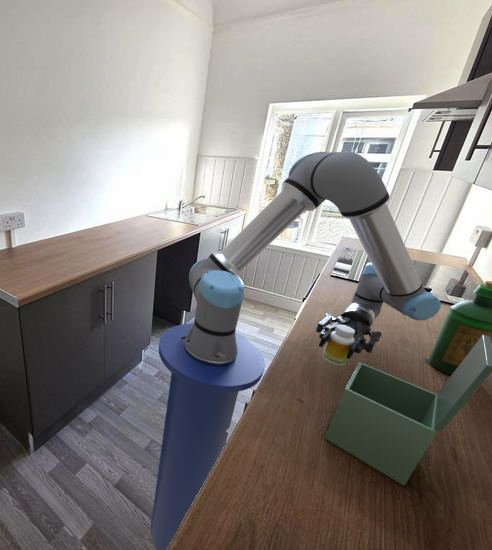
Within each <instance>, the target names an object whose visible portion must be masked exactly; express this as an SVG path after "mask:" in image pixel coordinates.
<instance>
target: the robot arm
mask: <svg viewBox="0 0 492 550" xmlns="http://www.w3.org/2000/svg"><path fill="white" fill-rule="evenodd" d="M287 176H288V177H286V178H285V180H284V181H283V182H282V183H281V184H280V186H281V187H280V188H281V189H280V192H279V193H278V194H277V195H276V196H275V197H274V198H273V199H272V200H271V201H270V202H269V203H268V204H267V205H266V206H265V207H264V208H263V209H262V210H261V211H259V213H258V214H257V215H256V216H255V217H254V218H253V219H251V221H250V222H249V223H248V224H247V225H246V226H244V228H243V229H242V230H241V231H240V232H239V233H238V234H236V236H235V237H234V238H233V239H231V240H230V241H229V243H228V244H227V245H226V246H224V247H223V248H222V250H221V251H213V252H212V253H211V254H209V255H208V256H207V257H206V258H203V259H200V260H198V261H196V262H195V263H194V264H193V265H192V266H191V268H190V270H189V274H188V282H189V287H190V289H191V291H192V293H193V296H194V299H195V301H196V307H195V314H194V320H193V323H194V324H193V326H192V327H191V329H190V331H189V333H188V334H187V336H185V337H181V339H185V343H184V348H185V350H186V352H187V353H188V354H189V355H190V356H191V357H192V358H193V359H195V360H197V361H199V362H201V363H203V364H207V365H211V366H226V365H229V364H232V363H233V362H234V361H235V360H236V358H237V353H238V348H237V342H236V335H235V333H236V330H237V325H238V321H239V318H240V314H241V313H240V312H241V308H242V305H243V300H244V297H245V284H244V281H243V280H242V279H241V273H242V270H244V269H245V268H246V267H247V266H248V265H249V264H250V263H251V262H252V261H253V260H254V259H255V258H256V257H257V256H259V255H260V254H261V253H262V252H263V251H264V250H265V249H266V248H267V247H268V246H269V245H270V244H271V243H272V242H274V240H276V239H277V238H278V237H279V236H280V235H281V234H282V233H283V232H285V230H286V229H287V228H289V227H290V226H291V225H292V224H293V223H294V222H295V221H296V220H297V219H298V218H299V217H301V215H302V214H304V213H305V212H312V211H316V210H317V208H319V207H320V205H322V204H323V203H324V202H325V201H328V202H331V203H332V204H333V205H334V206H335V207H336V208H337V209H338V211H339V213H340V215H341V216H342V217H343V218H347V219H349V222H350V224H351V226H352V227H353V229H354V231H355V233H356V236H357V238H358V239H359V241H360V243H361V245H362V247H363V250H364V251H365V253H366V255H367V258H368V260H369V261H370V262H368V263H366V265H365V267H364V268H363V270H362V272H361V273H360V278H359V281H358V283H357V286H356V289H355V291H354V293H353V296H352V299H351V301H350V303H349V305H348V306H347V308H345V310H343V312H342V313H341V314H340V315H339V316H336V317H334V316H332V314H330V313H326V314H325V317H324V318H323V319H322V320H320V321H319V322H318V324H317V326H316V329H315V332H316V333H319V335H318V338H319V339H320V341H319V344H318V347H320V348H323V347H325V345H326V343H327V341H328V338H329V335H330V333H331V332H333V331H335V328H336V326H337V325H346V326H348V327H351V328H352V329H354V330H355V333H354V336H353V338H354V341H355V342H354V343H353V345H352V346H351V348H350V350H349V352H348V355H347V357H346V358H348V359H347V360H351V358H352V357H353V355H354V353H356V354H358V355H359V354H361V352H362V351H363V350H364V351H365V352H367V353H369V354H370V353H372V351H373V350H374V347H375V344H376V343H378V342H379V341H380V339H381V337H382V335H383V332H381V331H374V330H372V329H371V327H372V326H373V324H374V323H375V321H376V319H377V317H378V316H379V315H380V314H381V311H382V306H383V305H384V304H386V305H387V306H390V308H393V309H394V310H396V311H398V312H399V313H401V315H403V316H406V317H408V318H410V319H412V320H415V321H426V320H429V319H431V318H433V317H435V316H436V315H437V314H438V313H439V311H440V310H441V307H442V303H441V300H440V299H439V297H437V296H436V295H434V294H433V293H431V292H430V291H429V292H428V291H427V290H426V289H425V287H424V285H423V282H422V281H421V279H420V275H419V274H418V272H417V270H416V268H415V264H414V263H413V261H412V258H411V256H410V253H409V251H408V249H407V247H406V245H405V242H404V240H403V237H402V236H401V234H400V232H399V229H398V227H397V225H396V222H395V220H394V218H393V216H392V213H391V211H390V209H389V206H388V202H389V201H390V198H391V197H390V194H389V192H388V190H387V187H386V185H385V183H384V181H383V180H382V177H381V176H380V174H379V173H378V171H377V170H376V168H375V167H374V166H373V165H372V164H371V162H370V161H369V160H368V159H366V158H365V157H364V156H362V155H361V154H359V153H357V152H353V151H329V152H328V151H318V152H312V153H309V154H306V155H303V156H302V157H300V158H299V159H297V161H295V162H294V163H293V164H292V165H291V166H290V169H289V171H288V175H287ZM365 336H368V337H369V341H368V342H367V338H365Z"/></svg>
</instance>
